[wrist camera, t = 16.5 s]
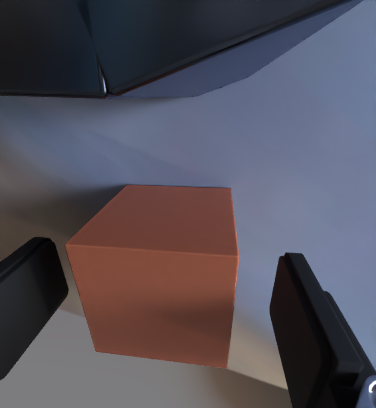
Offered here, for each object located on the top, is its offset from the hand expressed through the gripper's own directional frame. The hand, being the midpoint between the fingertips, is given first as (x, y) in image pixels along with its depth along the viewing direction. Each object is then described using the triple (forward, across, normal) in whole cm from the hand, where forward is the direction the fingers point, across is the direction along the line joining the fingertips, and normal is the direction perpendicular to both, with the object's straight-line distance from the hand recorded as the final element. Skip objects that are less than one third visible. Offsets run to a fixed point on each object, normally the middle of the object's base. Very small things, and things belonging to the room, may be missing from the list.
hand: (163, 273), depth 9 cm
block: (+3, 0, 0) cm, 3 cm away
